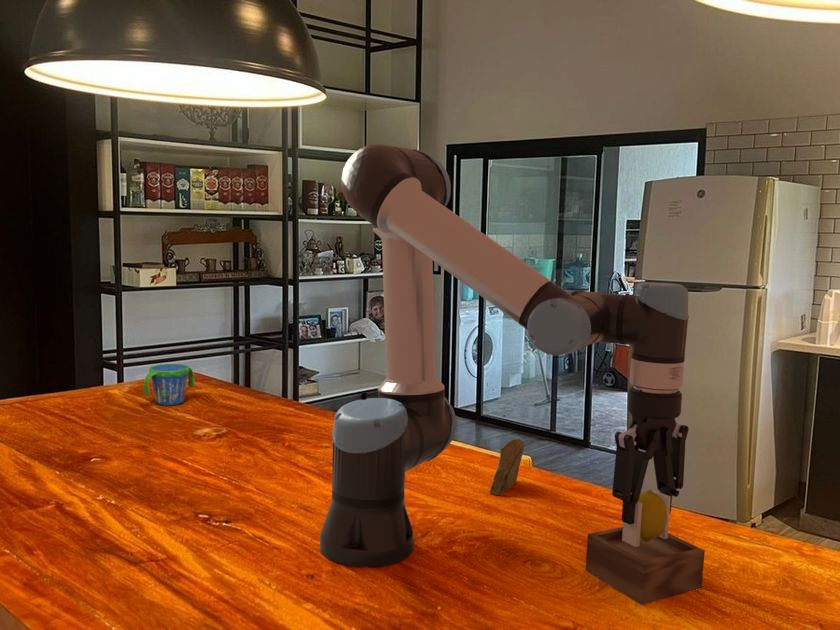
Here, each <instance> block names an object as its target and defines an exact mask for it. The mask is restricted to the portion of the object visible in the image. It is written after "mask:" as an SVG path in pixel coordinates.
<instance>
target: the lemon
mask: <svg viewBox="0 0 840 630" xmlns="http://www.w3.org/2000/svg"><path fill="white" fill-rule="evenodd" d="M653 492H654V491H653V490H651V489H646V491H641V493H640V497H639V500H638V502H640V503H642V516H641V531H640V537H641V538H642V539H643V540H644V541H645V542H648V541H650V540H651V539H653V538H656V537H658V536H659V535H661V534H662V532H663V531H664V529H665V527H666V523H667V510H666V506H665V503H664V501H663V500H662V498H661V497H660V496H659V495H657V494H656V493H653Z"/></svg>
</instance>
